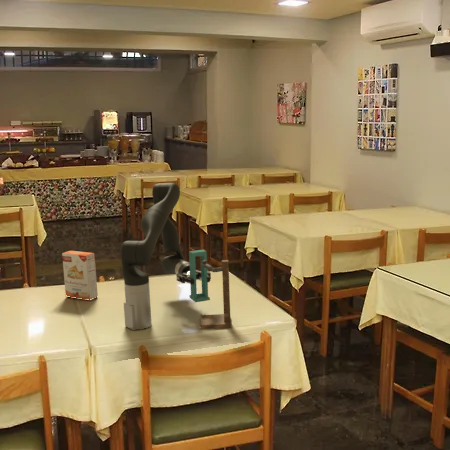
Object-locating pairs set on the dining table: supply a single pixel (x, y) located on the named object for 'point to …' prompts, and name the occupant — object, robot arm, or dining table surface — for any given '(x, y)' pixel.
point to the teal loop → (204, 294)
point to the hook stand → (223, 319)
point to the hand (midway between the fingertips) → (201, 280)
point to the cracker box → (80, 274)
